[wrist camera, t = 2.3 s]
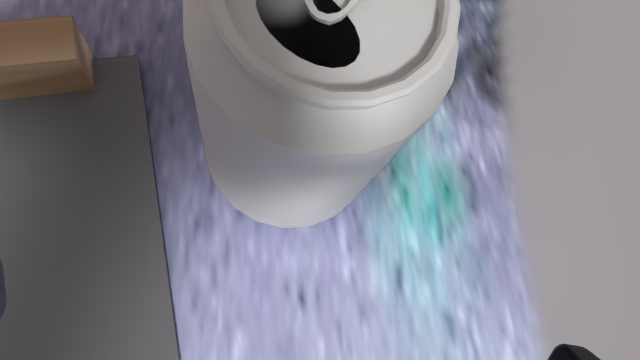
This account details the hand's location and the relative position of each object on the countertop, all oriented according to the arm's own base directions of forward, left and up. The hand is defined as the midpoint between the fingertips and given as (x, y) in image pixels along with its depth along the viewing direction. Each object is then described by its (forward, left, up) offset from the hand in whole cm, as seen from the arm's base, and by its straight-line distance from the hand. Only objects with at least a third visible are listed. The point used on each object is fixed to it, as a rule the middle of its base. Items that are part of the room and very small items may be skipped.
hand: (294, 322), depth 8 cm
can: (+7, -2, -13) cm, 15 cm away
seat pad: (+6, +10, -13) cm, 17 cm away
